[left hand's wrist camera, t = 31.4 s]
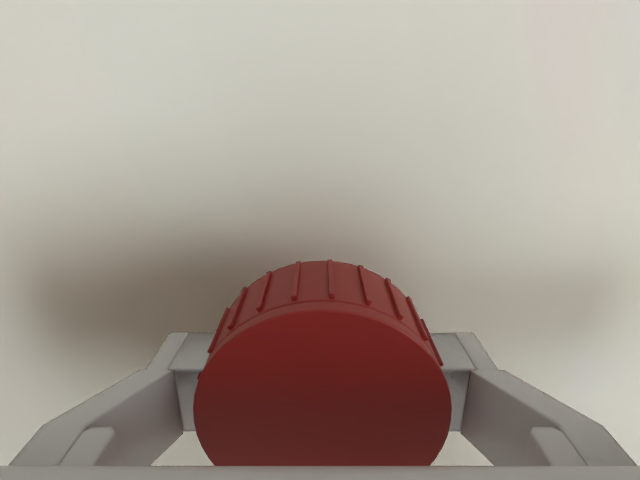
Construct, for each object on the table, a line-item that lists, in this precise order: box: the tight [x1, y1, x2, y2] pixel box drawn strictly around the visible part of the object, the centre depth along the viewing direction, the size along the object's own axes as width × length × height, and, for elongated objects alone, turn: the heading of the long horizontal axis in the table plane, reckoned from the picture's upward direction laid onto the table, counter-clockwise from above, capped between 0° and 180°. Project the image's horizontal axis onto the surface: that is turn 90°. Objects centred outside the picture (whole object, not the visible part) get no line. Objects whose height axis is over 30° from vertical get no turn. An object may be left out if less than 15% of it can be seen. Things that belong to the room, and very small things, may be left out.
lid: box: [193, 260, 452, 466], centre depth 9 cm, size 6×6×2 cm
